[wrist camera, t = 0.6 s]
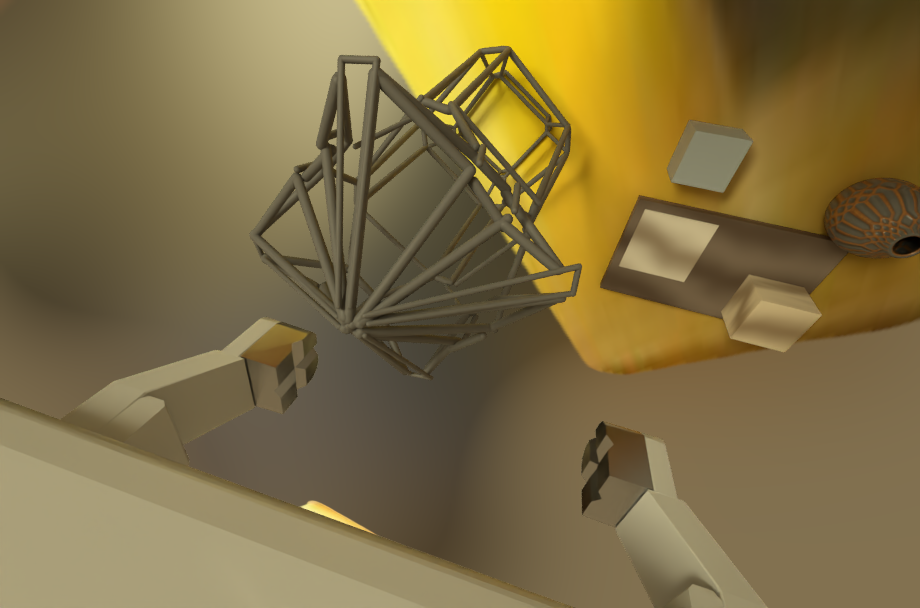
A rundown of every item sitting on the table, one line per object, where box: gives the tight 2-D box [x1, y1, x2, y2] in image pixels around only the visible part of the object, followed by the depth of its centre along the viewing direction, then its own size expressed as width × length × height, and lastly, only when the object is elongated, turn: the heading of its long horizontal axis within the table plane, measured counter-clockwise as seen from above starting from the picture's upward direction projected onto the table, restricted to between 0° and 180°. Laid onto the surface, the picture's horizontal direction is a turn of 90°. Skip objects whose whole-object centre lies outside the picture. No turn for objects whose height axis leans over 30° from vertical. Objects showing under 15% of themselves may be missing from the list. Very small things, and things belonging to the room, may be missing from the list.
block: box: [721, 275, 822, 352], centre depth 45 cm, size 6×6×5 cm
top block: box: [667, 120, 753, 193], centre depth 39 cm, size 5×5×4 cm
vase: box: [824, 178, 920, 258], centre depth 36 cm, size 7×7×9 cm
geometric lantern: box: [250, 46, 582, 380], centre depth 31 cm, size 16×16×35 cm
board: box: [600, 195, 848, 319], centre depth 47 cm, size 13×22×1 cm, turn 84°
